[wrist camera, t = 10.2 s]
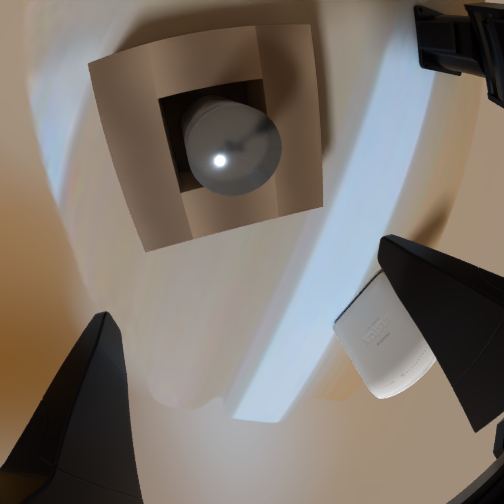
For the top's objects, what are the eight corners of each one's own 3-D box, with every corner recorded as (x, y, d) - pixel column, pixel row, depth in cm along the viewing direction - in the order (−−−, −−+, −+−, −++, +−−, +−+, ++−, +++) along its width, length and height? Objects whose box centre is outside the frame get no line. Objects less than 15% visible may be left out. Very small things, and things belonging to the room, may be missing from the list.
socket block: (284, 32, 15) (310, 24, 12) (299, 184, 22) (322, 206, 19) (104, 66, 13) (87, 63, 10) (148, 222, 20) (145, 252, 17)
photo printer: (381, 265, 30) (448, 343, 21) (397, 276, 33) (457, 346, 23) (325, 327, 34) (371, 409, 24) (345, 332, 36) (389, 406, 26)
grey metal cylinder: (235, 90, 17) (276, 98, 10) (244, 144, 19) (285, 184, 13) (176, 102, 16) (178, 116, 10) (188, 157, 19) (198, 205, 12)
